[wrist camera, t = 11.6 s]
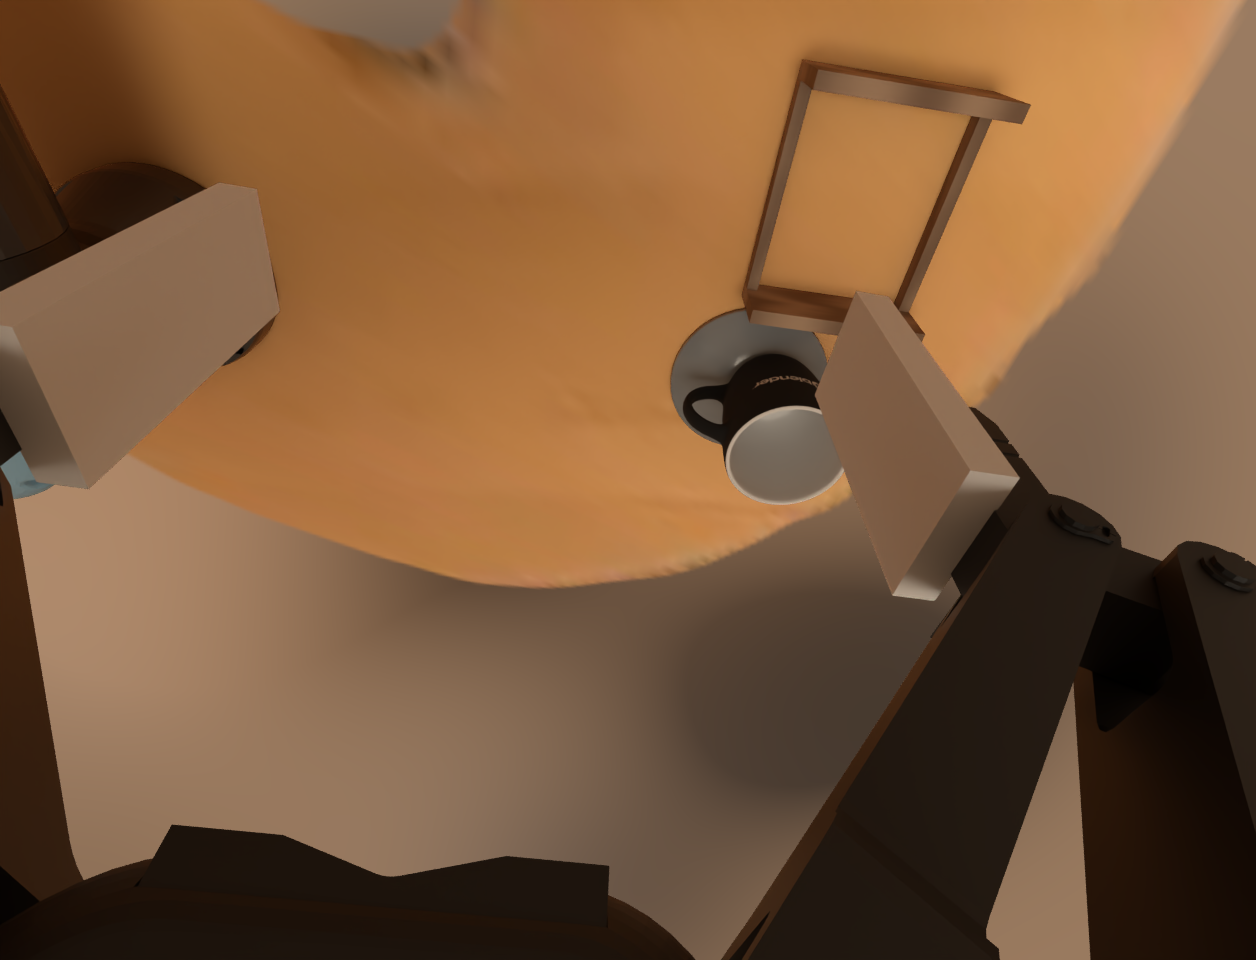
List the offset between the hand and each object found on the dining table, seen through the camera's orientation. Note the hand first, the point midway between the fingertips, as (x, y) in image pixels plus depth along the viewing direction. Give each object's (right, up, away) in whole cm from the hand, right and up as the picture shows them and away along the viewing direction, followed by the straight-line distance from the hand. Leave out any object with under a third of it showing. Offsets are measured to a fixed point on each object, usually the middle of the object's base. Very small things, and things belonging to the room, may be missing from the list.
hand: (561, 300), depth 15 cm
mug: (+12, +4, +40) cm, 41 cm away
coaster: (+12, +4, +40) cm, 42 cm away
